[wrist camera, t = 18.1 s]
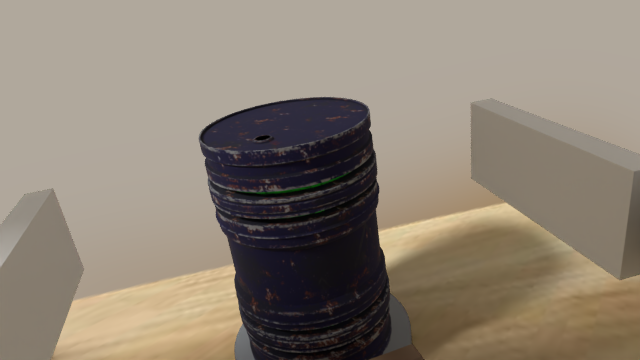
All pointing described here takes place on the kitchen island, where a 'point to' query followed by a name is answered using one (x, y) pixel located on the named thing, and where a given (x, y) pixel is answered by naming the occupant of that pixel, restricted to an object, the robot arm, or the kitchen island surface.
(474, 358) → the kitchen island surface
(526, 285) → the kitchen island surface
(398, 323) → the rubber pad
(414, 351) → the walnut open box
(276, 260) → the dark blue cylinder
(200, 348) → the kitchen island surface
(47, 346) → the robot arm
